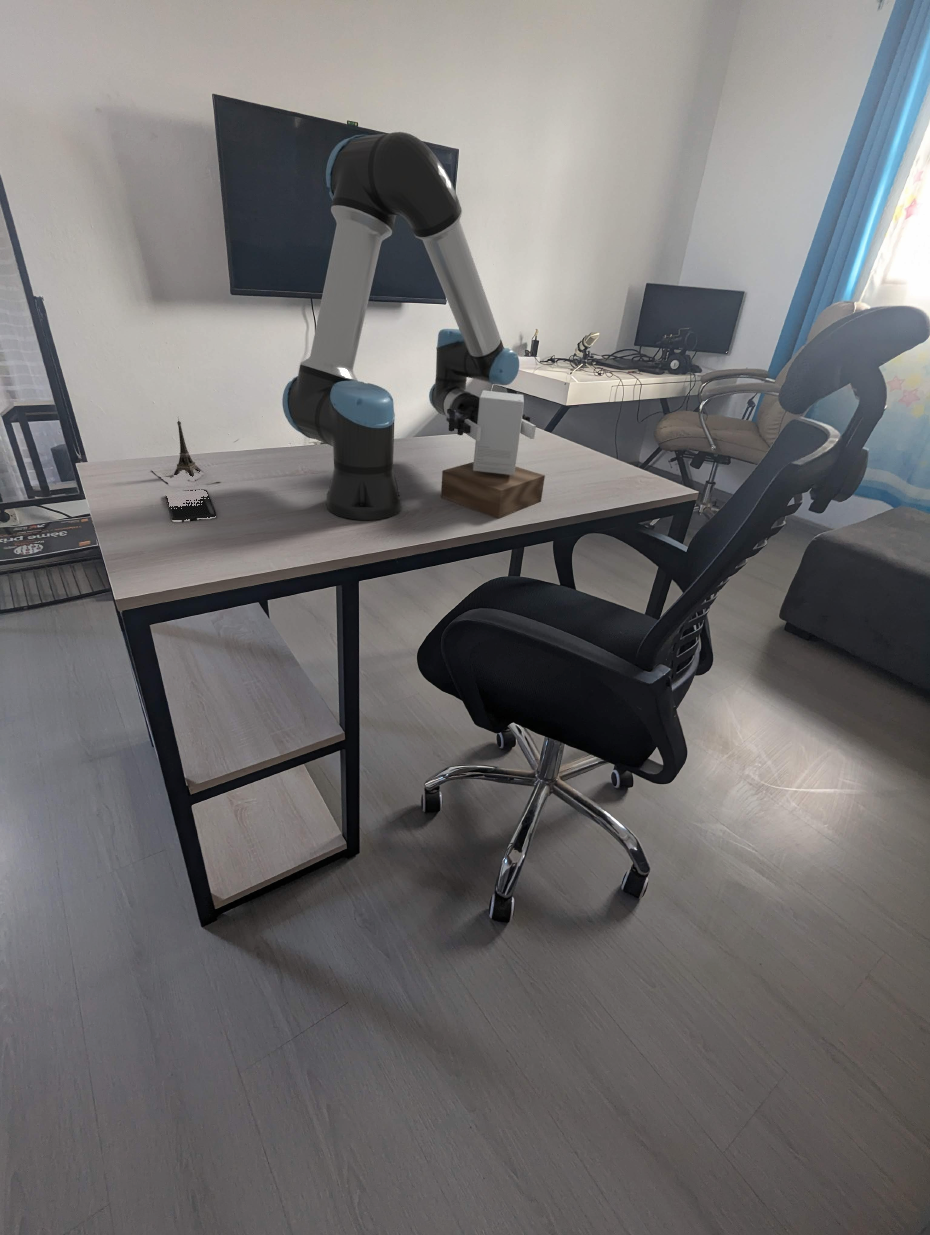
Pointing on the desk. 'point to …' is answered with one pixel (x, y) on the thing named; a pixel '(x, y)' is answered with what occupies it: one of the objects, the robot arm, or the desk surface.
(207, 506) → the phone
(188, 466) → the eiffel tower figurine
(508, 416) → the supplement box
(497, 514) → the walnut stand
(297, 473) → the desk surface
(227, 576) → the desk surface
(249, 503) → the desk surface
